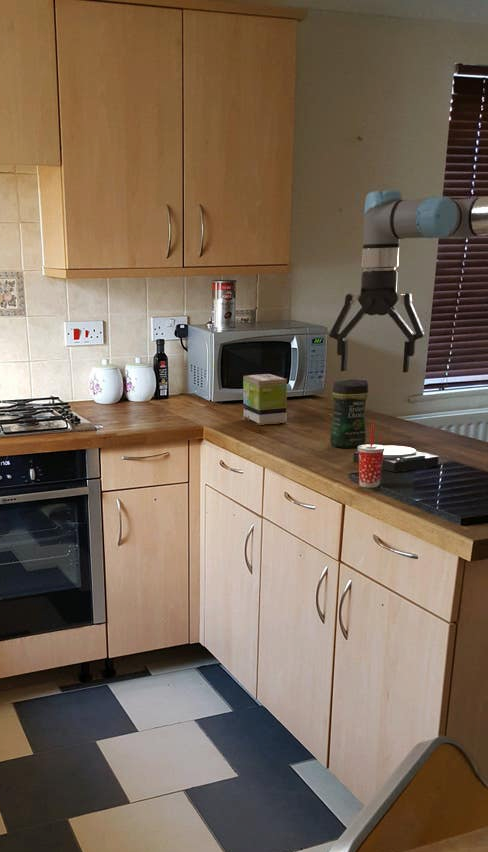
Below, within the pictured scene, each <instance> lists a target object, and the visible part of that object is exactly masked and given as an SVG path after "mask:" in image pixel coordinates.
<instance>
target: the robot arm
mask: <svg viewBox="0 0 488 852" xmlns="http://www.w3.org/2000/svg"><path fill="white" fill-rule="evenodd" d="M364 202H365V203H364V212H363V245H362V253H361V254H362V255H361V256H362V257H361V269H364V270H363V271H362V273H361V274H360V275H361V276H360V278H361V279H360V291H359V295H358V294H353V293H347V294H346V295H345V298H344V304H343V307H342V308H341V310H340V312H339V314H338V316H337V319H336V320H335V322H334V324H333V326H332V328H331V330H330V332H329V334H328V336H329V338H330V339H331V338H332V339H335V340H336V342H337V345H336V350H337V351H336V354H337V356H340V358H341V359H340V372H345V371H347V370H348V357H349V356H348V355H349V354H348V353H349V340H348V339H346V338H347V337H348V335H349V334H350V333H351V332H352V331H353V330H354V329H355V327H357V325H358V324H359V322H360V321H362V319H363V318H364V317H365V316H366V315H368V316H375V315H377V316H385V315H389V317H390V318H391V319H392V320H393V321H394V323H395V324H396V325H397V327H398V328H399V329H400V331H401V332H402V333H403V335H404V336H405V337H406V339H408V340H405V341H404V346H403V348H404V349H403V365H402V373H408V372H409V370H410V369H409V368H410V357H414V356H415V353H416V341H417V340H419V339H422V338H424V337H425V335H426V334H425V331H424V328H423V326H422V324H421V322H420V319H419V317H418V315H417V311H416V310H415V307H414V305H413V299H412V297H413V295H412V293H411V292H406V293H403V294H398V291H397V288H398V272H397V270H396V269H397V268H398V267H399V256H400V255H399V254H400V240H406V239H407V240H408V239H411V240H413V239H458V240H462V239H464V240H465V239H470V238H474V237H482V236H483V237H485V236H488V195H487V196H480V197H470V198H461V199H460V198H459V199H452V198H451V197H448V196H430V197H421V198H414V199H403V193H402V192H401V191H400V190H375V191H371V192H369V193H367V195H366V196H365V201H364ZM357 301H358V304H359V305H360V306H361V308H360V309H359V311H357V313H356V314H355V316H353V317H352V319H351V320H350V321H349V322H348V323H347V325H346V326H345V327H344V328H343V329H342V330H341V328H342V326H343V325H344V322H345V321H346V318H347V316H348V314H349V313H350V310H351V309H352V306H353V305H355V304H356V302H357ZM398 301H400V304H401V305H404V308H405V311H406V313H407V316H408V318H409V320H410V323H411V325H412V328H413V329H414V331H413V330H412V329H411V327H410V326H409V325H408V324H407V322H406V321H405V320H404V319H403V317H401V315H400V313H399V312H398V310H397V309H396V308H395V305H396V304H397V302H398ZM340 330H341V332H340ZM414 332H415V333H414Z"/></svg>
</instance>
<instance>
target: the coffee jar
mask: <svg viewBox="0 0 488 852" xmlns="http://www.w3.org/2000/svg"><path fill="white" fill-rule="evenodd" d="M331 394H332V398H333V403H334V404H333V415H332V416H333V417H332V424H331V429H330V438H329V440H330V441H329V443H330V445H331V446H333V447H334V448H337V447H338V448H341V449H342V448H344V449H345V448H346V449H350V448H358V446H360V445H366V443H367V430H366V403H367V400H368V397H369V383H368V380H365V379H361V378H346V379H338V380H335V381H334V383H333V387H332V393H331Z"/></svg>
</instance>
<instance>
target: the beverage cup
mask: <svg viewBox="0 0 488 852" xmlns="http://www.w3.org/2000/svg"><path fill="white" fill-rule="evenodd" d="M370 426H371V427H370V443H369V444H366V443H365V445H360V446H358V447H357V452H359V463H358V475H359V476H358V483H359V484H358V486H360V487H362V488H369V489H372V488H373V489H374V488H378V487H377V486H378V485H379V484H380V485H381V477H382V471H383V470H382V461H383V453H384V451H385V446H386V445H382V444H374V424H371V425H370Z"/></svg>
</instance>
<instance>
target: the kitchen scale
mask: <svg viewBox="0 0 488 852" xmlns="http://www.w3.org/2000/svg"><path fill="white" fill-rule="evenodd" d="M384 446H385V451H384V453H383V461H382V470H381V471H385V470H389V471H393V472H396V471H403V472H405V471H404V470H410V471H415V470H414V469H416V470H420V469H419V468H423V469H425V468H424V467H429V468H432V467H431V466H436V467H438V466H439V459H440V456H439V455H436V454H431V453H427V452H423V451H417V450H416V449H415V448H412V447H409V446H402V445H384ZM352 459H353V461H352V462H353V463H357V464H359V451H354V452H353V458H352ZM437 465H438V466H437ZM389 471H388V472H389ZM393 472H392V473H393Z"/></svg>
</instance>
